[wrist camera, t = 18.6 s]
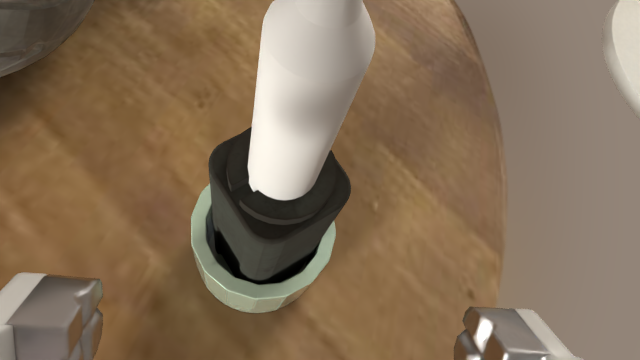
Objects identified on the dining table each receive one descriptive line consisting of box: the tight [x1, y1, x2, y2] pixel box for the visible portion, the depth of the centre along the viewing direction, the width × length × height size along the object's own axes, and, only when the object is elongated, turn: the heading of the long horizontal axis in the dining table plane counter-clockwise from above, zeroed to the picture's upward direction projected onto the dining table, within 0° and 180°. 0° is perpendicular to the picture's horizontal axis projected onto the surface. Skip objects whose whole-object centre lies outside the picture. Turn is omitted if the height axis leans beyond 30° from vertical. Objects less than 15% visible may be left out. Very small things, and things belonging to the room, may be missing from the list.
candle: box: [209, 0, 375, 285], centre depth 20 cm, size 5×5×25 cm
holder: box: [191, 184, 336, 313], centre depth 29 cm, size 8×8×6 cm
